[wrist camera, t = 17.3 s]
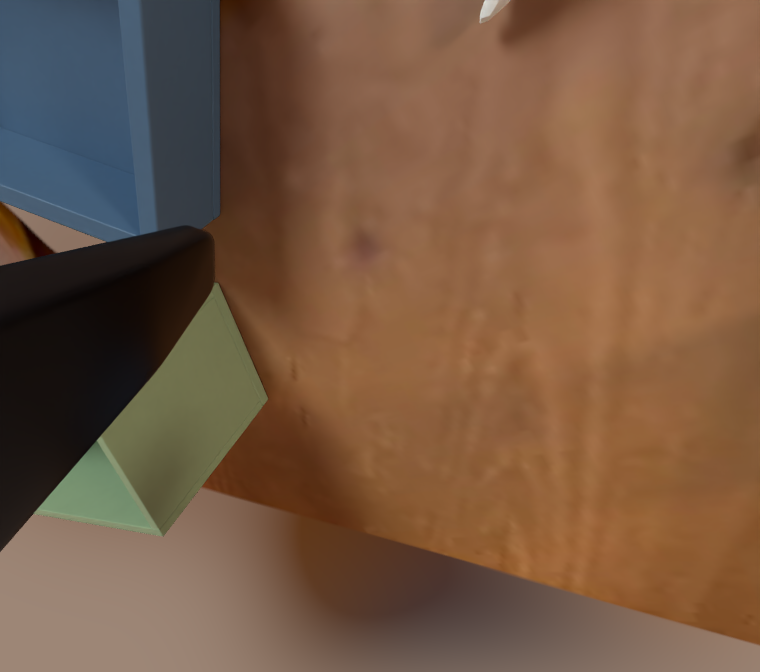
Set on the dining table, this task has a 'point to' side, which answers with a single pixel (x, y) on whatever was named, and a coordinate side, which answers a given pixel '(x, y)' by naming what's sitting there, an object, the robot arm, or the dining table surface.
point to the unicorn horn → (491, 9)
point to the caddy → (167, 432)
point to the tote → (111, 113)
